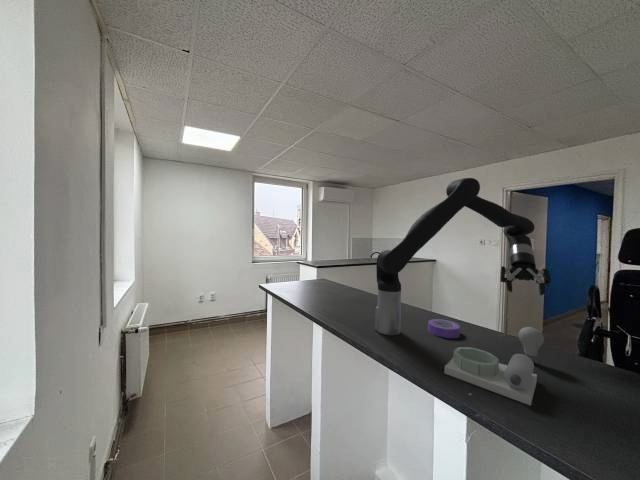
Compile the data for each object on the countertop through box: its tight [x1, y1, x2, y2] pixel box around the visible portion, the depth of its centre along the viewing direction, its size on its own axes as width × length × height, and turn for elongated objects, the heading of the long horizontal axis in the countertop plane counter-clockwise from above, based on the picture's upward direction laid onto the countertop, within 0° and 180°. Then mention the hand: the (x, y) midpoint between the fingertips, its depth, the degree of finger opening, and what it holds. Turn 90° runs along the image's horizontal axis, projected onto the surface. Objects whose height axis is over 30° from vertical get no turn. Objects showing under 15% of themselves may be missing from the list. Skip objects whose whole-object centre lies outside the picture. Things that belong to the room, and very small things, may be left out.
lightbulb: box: [518, 326, 545, 363], centre depth 79 cm, size 6×6×11 cm
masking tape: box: [427, 318, 461, 339], centre depth 103 cm, size 12×12×4 cm
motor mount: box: [443, 346, 538, 407], centre depth 70 cm, size 19×14×7 cm
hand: (525, 292), depth 89 cm, fingers open, 8 cm apart
